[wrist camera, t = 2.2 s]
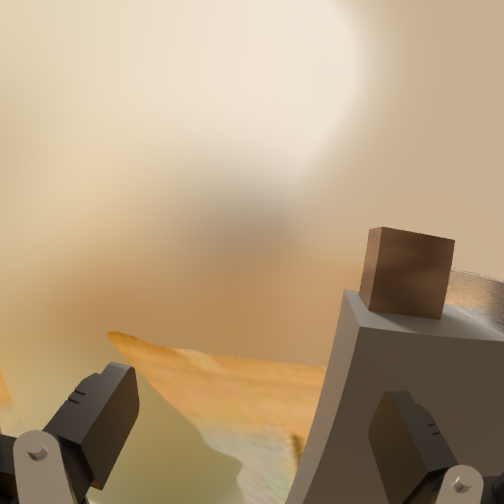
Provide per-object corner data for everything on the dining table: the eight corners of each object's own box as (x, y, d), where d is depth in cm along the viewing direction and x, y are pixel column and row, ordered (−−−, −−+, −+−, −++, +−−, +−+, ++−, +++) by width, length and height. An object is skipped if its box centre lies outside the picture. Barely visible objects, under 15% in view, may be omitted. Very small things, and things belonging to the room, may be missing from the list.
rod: (619, 412, 2) (648, 325, 2) (421, 290, 29) (426, 263, 29) (641, 400, 2) (664, 326, 1) (444, 294, 29) (449, 267, 29)
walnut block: (367, 310, 17) (381, 226, 17) (358, 295, 22) (369, 229, 22) (440, 319, 16) (454, 240, 16) (418, 304, 21) (429, 239, 21)
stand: (257, 588, 16) (359, 326, 13) (276, 526, 26) (344, 289, 24) (412, 589, 12) (583, 343, 10) (405, 532, 23) (514, 312, 20)
